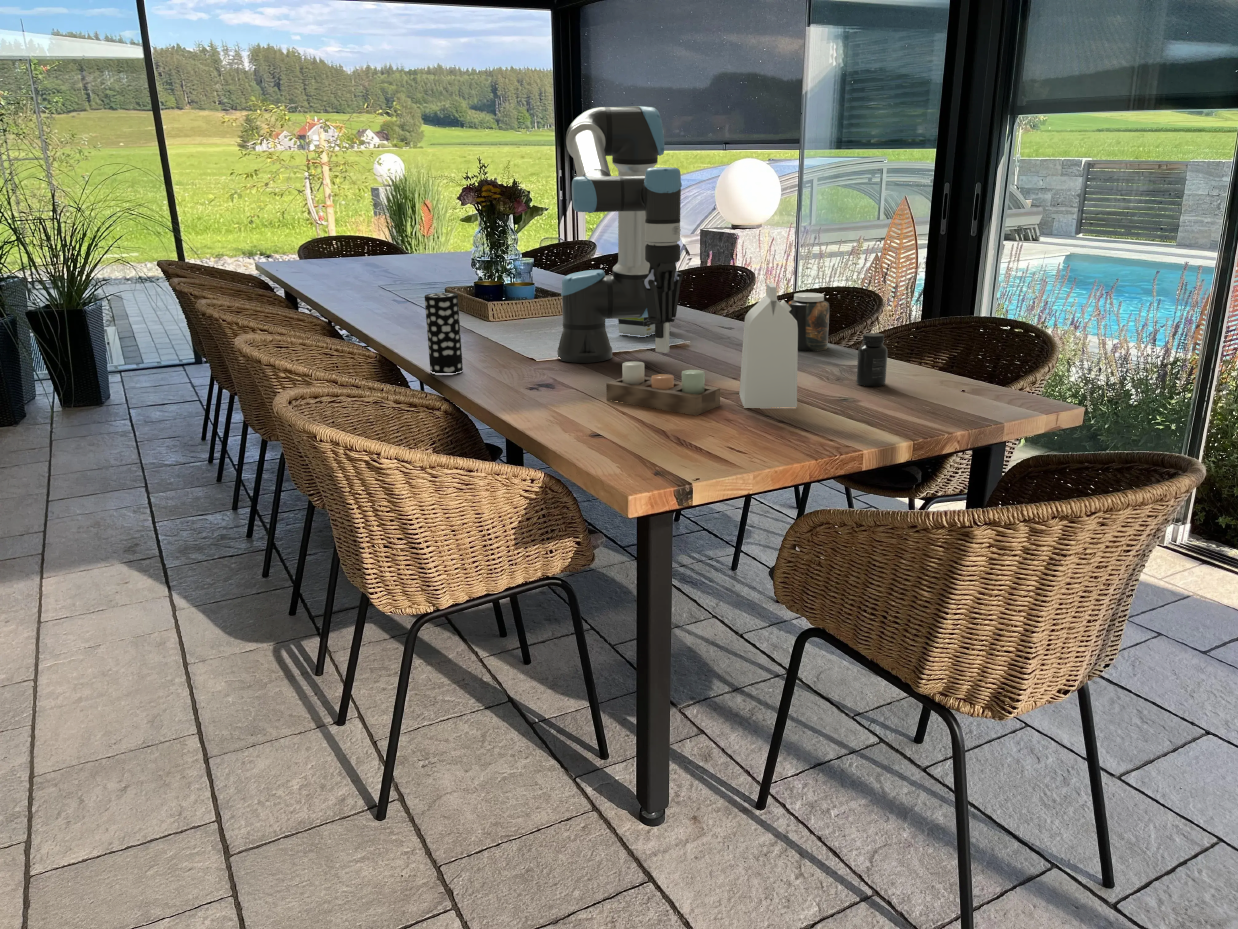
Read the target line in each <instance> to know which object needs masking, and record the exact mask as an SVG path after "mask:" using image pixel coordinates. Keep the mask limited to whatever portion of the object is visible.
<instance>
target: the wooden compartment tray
mask: <svg viewBox="0 0 1238 929" xmlns="http://www.w3.org/2000/svg"><path fill="white" fill-rule="evenodd" d="M651 377H652V376H651ZM651 377H649V376H644V383H641V384H639V385H632V384H626V383H623V377H621V378H617V379H615V380H612V381H609V382H606V387H605V388H606V401H609V400H612V401H611V402H614V401H618V402H617V403H620V402H623V403H622V404H626V403H628V404H627V405H632V404H634V405H633V406H638V405H640V406H639V407H643V406H645V408H649V407H650V408H651V409H655V408H656V409H655V410H661V409H662V411H667V412H672V411H673V412H675V413H678V414H684V413H685V414H686V415H689V416H698V415H701V414H704V413H706V412H708V411H711V410H713V409H715V408H717V407H720V406H721V387H716V386H709V385H705V391H704V392H703V393H701V394H698V395H696V394H689V393H683V392H682V381H678V380H677V381H675V380H674V387H673V388H670V389H667V390H664V389H658V388H652V381H651ZM673 412H672V413H673Z"/></svg>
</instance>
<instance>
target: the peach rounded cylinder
mask: <svg viewBox="0 0 1238 929" xmlns="http://www.w3.org/2000/svg"><path fill="white" fill-rule="evenodd" d="M651 381H652V388H658V389H664V390H667V389H670V388H673V387H674V381H675V376H674V375H672V374H666V373H659V374H652V375H651Z"/></svg>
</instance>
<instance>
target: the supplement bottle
mask: <svg viewBox="0 0 1238 929" xmlns="http://www.w3.org/2000/svg"><path fill="white" fill-rule="evenodd" d="M884 342H885V335H884V334H883V333H878V332H871V333H870V332H867V333H863V334H862V343H863V344H861V345H860V346H859V347H858V350H857V363H856V384H857V383H858V384H860V385H859V386H861V385H865V386H864V387H866V386H879V387H882V386H881V385H883V386H884V385H886V380H887V365H888V364H887V363H888V348H887V347H886V346H885V345H884ZM858 384H857V385H858Z"/></svg>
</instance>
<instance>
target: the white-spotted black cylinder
mask: <svg viewBox="0 0 1238 929" xmlns="http://www.w3.org/2000/svg"><path fill="white" fill-rule="evenodd" d="M423 298H424V307H425V309H424V310H425V319H426V332H427V333H426V334H427V343H428V344H427V345H428V358H429V369H430V371H432V372H435V373H456V372H460V371H462V370H463V371H464V368H463V353H462V352H463V350H462V338H461V337H462V336H461V324H460V323H461V322H460V309H459V295H458V293H454V292H434V293H428V294H425V295H424V296H423Z"/></svg>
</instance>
